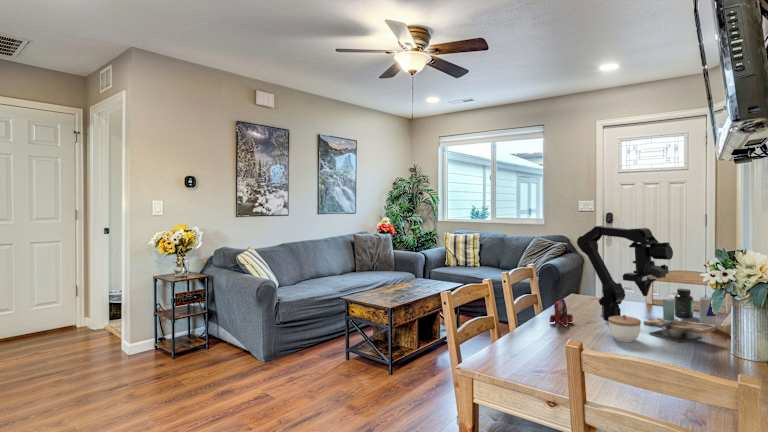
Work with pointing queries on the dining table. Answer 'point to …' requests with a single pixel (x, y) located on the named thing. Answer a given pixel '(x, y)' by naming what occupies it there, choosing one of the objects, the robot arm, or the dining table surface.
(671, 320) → the green rectangular block
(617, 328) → the lidded jar
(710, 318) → the energy drink
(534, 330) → the dining table surface
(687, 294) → the supplement bottle
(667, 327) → the beam stand
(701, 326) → the balance beam
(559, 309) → the dark red irregular piece
